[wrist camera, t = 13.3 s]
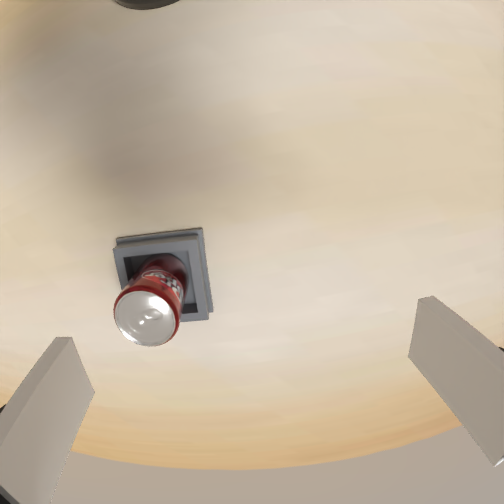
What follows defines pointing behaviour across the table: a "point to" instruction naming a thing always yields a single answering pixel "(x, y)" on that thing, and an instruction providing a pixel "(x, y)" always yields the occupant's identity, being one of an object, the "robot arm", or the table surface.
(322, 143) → the table surface
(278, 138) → the table surface
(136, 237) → the box
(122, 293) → the soda can
